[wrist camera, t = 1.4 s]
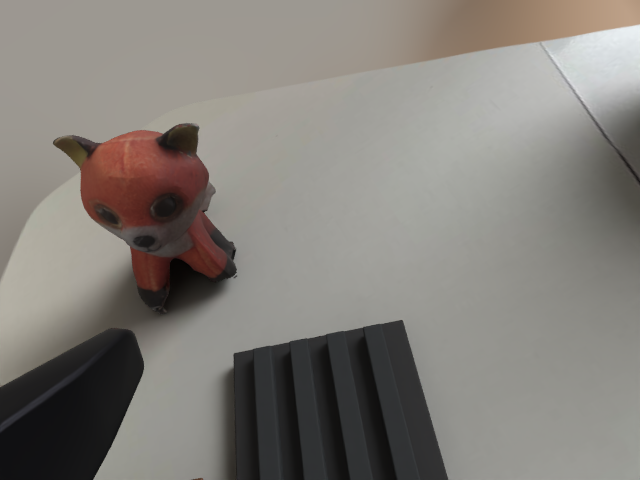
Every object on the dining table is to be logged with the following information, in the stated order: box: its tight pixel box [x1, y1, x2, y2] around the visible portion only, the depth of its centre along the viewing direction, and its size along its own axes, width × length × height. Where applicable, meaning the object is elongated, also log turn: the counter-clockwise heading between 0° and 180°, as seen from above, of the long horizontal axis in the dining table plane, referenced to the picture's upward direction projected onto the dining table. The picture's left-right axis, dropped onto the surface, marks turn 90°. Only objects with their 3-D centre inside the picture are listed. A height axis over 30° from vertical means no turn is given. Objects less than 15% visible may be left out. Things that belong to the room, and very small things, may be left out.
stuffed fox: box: [53, 123, 237, 314], centre depth 33 cm, size 8×11×12 cm
